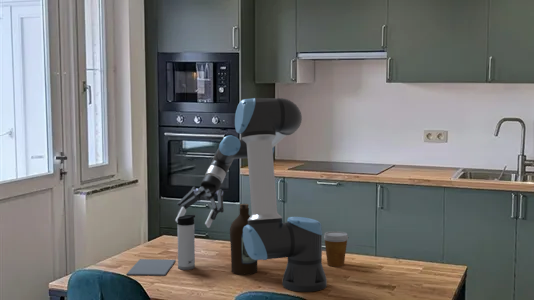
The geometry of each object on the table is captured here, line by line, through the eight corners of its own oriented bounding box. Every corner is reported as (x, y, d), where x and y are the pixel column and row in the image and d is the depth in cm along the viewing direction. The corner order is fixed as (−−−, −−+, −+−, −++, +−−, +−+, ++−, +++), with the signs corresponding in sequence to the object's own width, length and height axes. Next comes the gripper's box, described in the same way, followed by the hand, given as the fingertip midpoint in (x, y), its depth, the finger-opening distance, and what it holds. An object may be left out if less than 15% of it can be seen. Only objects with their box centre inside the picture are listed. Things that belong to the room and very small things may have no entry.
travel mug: (194, 270, 246) (194, 216, 244) (176, 269, 246) (176, 216, 244) (196, 265, 252) (196, 213, 250) (179, 265, 252) (178, 213, 250)
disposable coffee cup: (347, 261, 257) (348, 231, 256) (348, 268, 248) (348, 236, 246) (323, 261, 258) (323, 230, 257) (322, 267, 249) (323, 236, 247)
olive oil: (224, 270, 245) (224, 203, 243) (249, 266, 251) (248, 200, 249) (239, 277, 236) (239, 208, 234) (264, 272, 242) (264, 205, 240)
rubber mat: (165, 275, 238) (165, 274, 238) (126, 275, 239) (126, 273, 239) (175, 261, 258) (175, 259, 258) (140, 260, 259) (139, 259, 259)
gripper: (243, 187, 260) (223, 233, 249) (191, 183, 272) (169, 226, 260) (236, 176, 255) (215, 221, 243) (183, 172, 267) (161, 215, 255)
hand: (192, 224), depth 252 cm, fingers open, 13 cm apart
